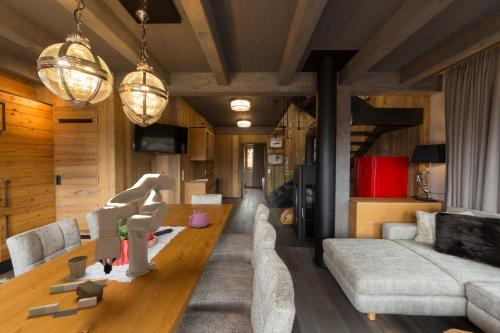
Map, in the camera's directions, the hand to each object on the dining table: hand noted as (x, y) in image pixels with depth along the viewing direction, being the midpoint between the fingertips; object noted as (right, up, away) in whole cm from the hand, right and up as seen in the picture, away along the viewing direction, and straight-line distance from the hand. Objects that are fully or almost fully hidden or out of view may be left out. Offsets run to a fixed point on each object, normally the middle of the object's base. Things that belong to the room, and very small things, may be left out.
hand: (107, 272), depth 102 cm
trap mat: (-8, -10, -14) cm, 19 cm away
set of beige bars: (-13, -10, -4) cm, 17 cm away
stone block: (-9, -10, -2) cm, 14 cm away
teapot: (+16, -8, +111) cm, 112 cm away
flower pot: (-27, -9, +17) cm, 33 cm away
